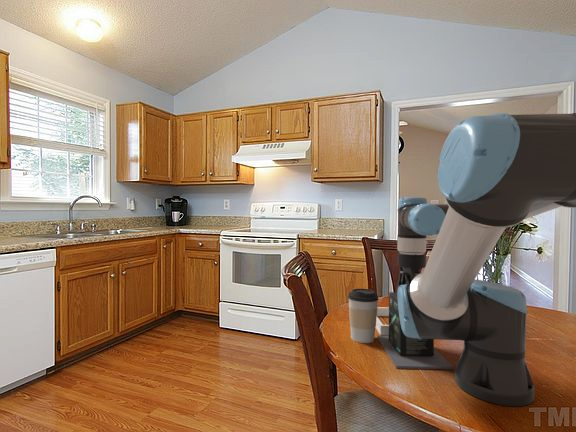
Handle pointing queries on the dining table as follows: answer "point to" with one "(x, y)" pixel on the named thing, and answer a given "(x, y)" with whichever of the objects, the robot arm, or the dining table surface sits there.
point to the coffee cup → (362, 314)
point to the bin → (379, 326)
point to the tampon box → (398, 338)
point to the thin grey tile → (414, 358)
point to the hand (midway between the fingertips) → (410, 328)
